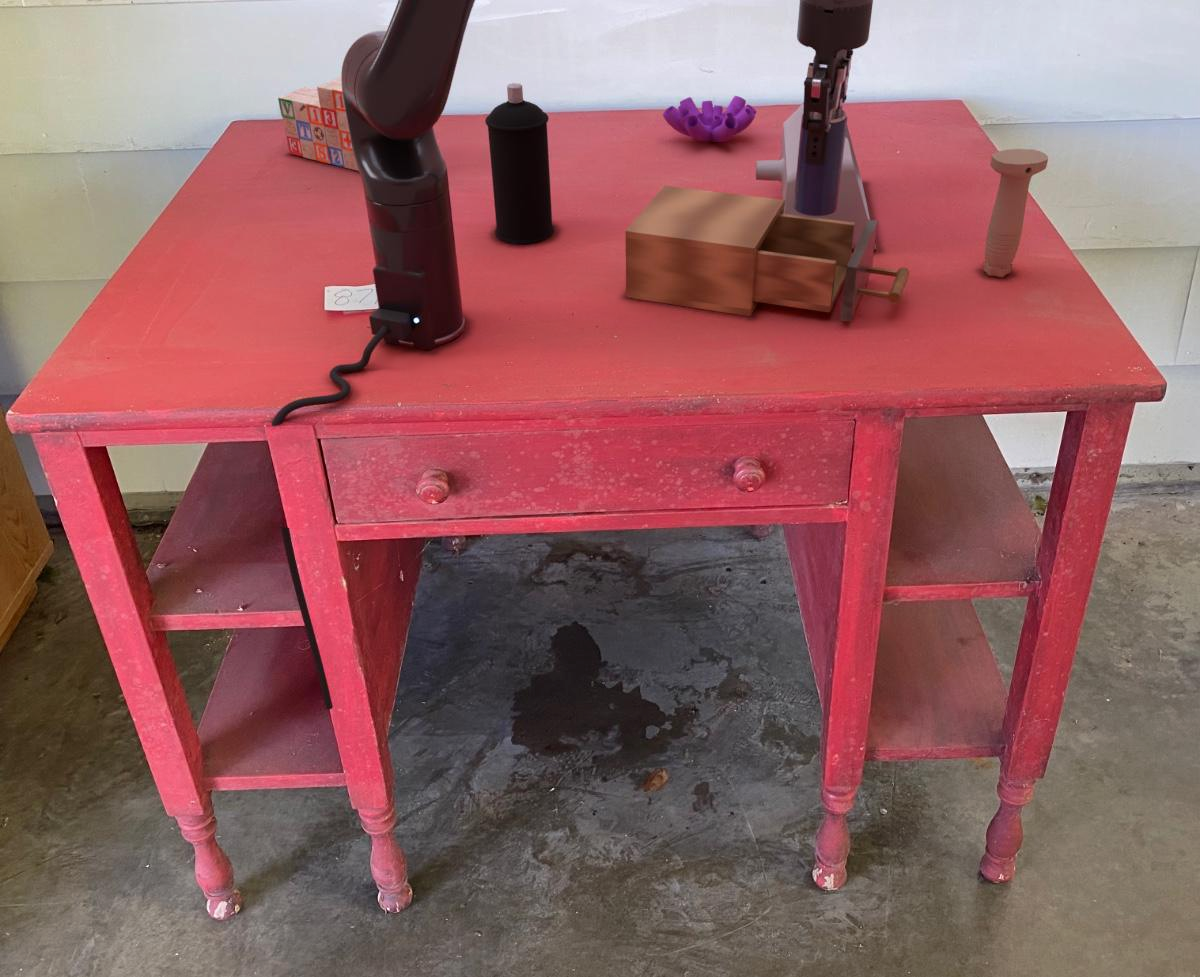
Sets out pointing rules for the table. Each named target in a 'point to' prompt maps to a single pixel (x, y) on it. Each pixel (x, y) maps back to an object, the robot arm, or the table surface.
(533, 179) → the aerosol can
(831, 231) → the drawer
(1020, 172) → the handle
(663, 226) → the cabinet
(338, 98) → the stack of blocks
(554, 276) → the table surface
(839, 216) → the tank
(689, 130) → the pipe connector assembly
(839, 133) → the can
